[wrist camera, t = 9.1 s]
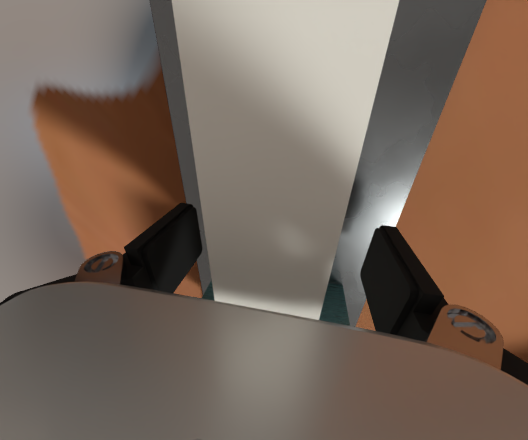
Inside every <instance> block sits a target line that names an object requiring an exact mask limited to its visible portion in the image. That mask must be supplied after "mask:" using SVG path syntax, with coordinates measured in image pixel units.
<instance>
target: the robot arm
mask: <svg viewBox="0 0 528 440" xmlns="http://www.w3.org/2000/svg"><path fill="white" fill-rule="evenodd" d="M124 249H125V251H126V253H125V254H123V255H122V254H121V253H120V252H116V251H109V252H103V253H100V254H97V255H95V256H92V257H91V258H89V259H87V260H86V261H85V262H84V263H82V264H81V266H80V268H79V270H78V273H77V274H76V275H73V276H69V277H66V278H63V279H59V280H56V281H53V282H50V283H47V284H43V285H40V286H37V287H33V288H30V289H27V290H24V291H20V292H17V293H15V294H13V295H11V296H9V297H7V298H6V299H5V300H4V301H3V302H1V303H0V440H528V363H526V362H524V361H523V360H521V359H520V358H518V357H516V356H515V355H513V354H512V353H510V352H508V351H507V350H505V349H504V348H503V346H504V341H503V337H502V335H501V333H500V332H499V330H498V329H497V328H496V327H495V326H494V325H493V324H492V323H491V322H490V321H488V320H487V319H486V318H485V317H483V316H482V315H480V314H478V313H477V312H475V311H473V310H470V309H468V308H466V307H463V306H459V305H451V304H450V305H448V303H447V302H446V300H445V299H444V298H443V297H444V295H443V294H442V292H441V291H440V290H439V288H438V287H437V285H436V284H435V282H434V281H433V279H432V278H431V277H430V275H429V274H428V272H427V271H426V269H425V268H424V266H423V265H422V264H421V262H420V261H419V259H418V258H417V256H416V255H415V253H414V252H413V251H412V249H411V248H410V246H409V245H408V243H407V242H406V240H405V239H404V238H403V236H402V235H401V233H400V232H399V230H398V229H397V228H396V227H394V226H385V225H381V226H380V227H379V228H376V229H375V231H374V234H373V237H372V239H371V242H370V245H369V248H368V251H367V254H366V257H365V260H364V262H363V265H362V268H361V272H360V277H361V281H362V285H363V288H364V292H365V295H366V298H367V302H368V305H369V309H370V312H371V316H372V319H373V323H374V326H375V329H376V331H373V330H368V329H363V328H358V327H353V326H348V325H342V324H337V323H332V322H326V321H321V320H316V319H311V318H305V317H300V316H295V315H289V314H284V313H279V312H273V311H268V310H262V309H257V308H251V307H246V306H241V305H235V304H230V303H224V302H219V301H213V300H208V299H202V298H196V297H191V296H185V295H179V294H174V291H175V290H176V288H177V287H178V286H179V284H180V283H181V281H182V280H183V279H184V277H185V276H186V274H187V273H188V272H189V270H190V269H191V267H192V266H193V265H194V263H195V262H196V260H197V259H198V258H199V256H200V255H201V253H202V242H201V235H200V229H199V223H198V216H197V210H196V208H195V207H193V205H192V204H185V203H180V204H179V205H177V206H176V207H175V208H174V209H172V210H171V211H170V212H168V213H167V214H166V215H165V216H163V217H162V218H161V219H159V220H158V221H157V222H156V223H154V224H153V225H152V226H151V227H149V228H148V229H147V230H145V231H144V232H143V233H142V234H140V235H139V236H138V237H137V238H135V239H134V240H133V241H131V242H130V243H129V244H128V245H126V246H125V247H124Z"/></svg>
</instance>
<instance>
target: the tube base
mask: <svg viewBox="0 0 528 440" xmlns="http://www.w3.org/2000/svg"><path fill="white" fill-rule="evenodd" d="M485 3H486V0H399V4H398V8H397V12H396V16H395V20H394V23H393V27H392V31H391V35H390V39H389V43H388V47H387V51H386V55H385V59H384V63H383V67H382V71H381V75H380V79H379V83H378V87H377V91H376V95H375V99H374V103H373V107H372V111H371V115H370V119H369V123H368V127H367V131H366V135H365V139H364V143H363V147H362V151H361V155H360V159H359V163H358V167H357V171H356V175H355V179H354V183H353V186H352V190H351V194H350V198H349V202H348V206H347V210H346V214H345V218H344V222H343V226H342V230H341V234H340V238H339V242H338V246H337V250H336V254H335V258H334V262H333V266H332V270H331V274H330V278H329V282H328V286H327V290H326V294H325V298H324V302H323V306H322V310H321V314H320V318H319V320H321V321H326V322H332V323H337V324H342V325H348V326H353V327H355V326H356V323H357V321H358V318H359V316H360V313H361V311H362V308H363V306H364V303H365V301H366V295H365V292H364V288H363V285H362V281H361V277H360V272H361V268H362V265H363V262H364V260H365V257H366V254H367V251H368V248H369V245H370V242H371V239H372V237H373V234H374V231H375V229H376V228H379V227H380V226H381V225H385V226H394V227H395V226H396V224H397V221H398V219H399V216H400V214H401V212H402V209H403V207H404V204H405V202H406V199H407V197H408V194H409V192H410V189H411V187H412V184H413V182H414V179H415V177H416V174H417V172H418V169H419V167H420V164H421V162H422V159H423V157H424V154H425V152H426V149H427V147H428V144H429V142H430V140H431V137H432V135H433V132H434V130H435V127H436V125H437V122H438V120H439V117H440V115H441V112H442V110H443V107H444V105H445V102H446V100H447V97H448V95H449V92H450V90H451V87H452V85H453V82H454V80H455V77H456V75H457V72H458V70H459V68H460V65H461V63H462V60H463V58H464V55H465V53H466V50H467V48H468V45H469V43H470V40H471V38H472V35H473V33H474V30H475V28H476V25H477V23H478V20H479V18H480V15H481V13H482V10H483V8H484V5H485ZM150 5H151V11H152V16H153V22H154V27H155V33H156V38H157V44H158V49H159V55H160V60H161V66H162V71H163V77H164V82H165V88H166V93H167V99H168V104H169V110H170V115H171V121H172V126H173V132H174V137H175V143H176V148H177V154H178V159H179V165H180V170H181V176H182V181H183V187H184V192H185V198H186V203H187V204H192V205H193V207H195V208H196V210H197V216H198V223H199V229H200V235H201V242H202V253H201V255H200V256H199V258H198V259H197V264H198V270H199V275H200V281H201V286H202V292H203V296H202V299H208V300H213V301H215V300H214V293H213V286H212V279H211V272H210V265H209V258H208V251H207V244H206V237H205V230H204V223H203V216H202V209H201V202H200V195H199V188H198V181H197V174H196V167H195V160H194V153H193V146H192V139H191V132H190V125H189V118H188V111H187V104H186V97H185V90H184V83H183V76H182V69H181V62H180V55H179V48H178V41H177V34H176V27H175V20H174V13H173V6H172V0H150Z"/></svg>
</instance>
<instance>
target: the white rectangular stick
mask: <svg viewBox="0 0 528 440" xmlns="http://www.w3.org/2000/svg"><path fill="white" fill-rule="evenodd" d="M398 4H399V0H172V6H173V13H174V20H175V27H176V34H177V41H178V48H179V55H180V62H181V69H182V76H183V83H184V90H185V97H186V104H187V111H188V118H189V125H190V132H191V139H192V146H193V153H194V160H195V167H196V174H197V181H198V188H199V195H200V202H201V209H202V216H203V223H204V230H205V237H206V244H207V251H208V258H209V265H210V272H211V279H212V286H213V293H214V300H215V301H219V302H224V303H230V304H235V305H241V306H246V307H251V308H257V309H262V310H268V311H273V312H279V313H284V314H289V315H295V316H300V317H305V318H311V319H316V320H319V318H320V314H321V310H322V306H323V302H324V298H325V294H326V290H327V286H328V282H329V278H330V274H331V270H332V266H333V262H334V258H335V254H336V250H337V246H338V242H339V238H340V234H341V230H342V226H343V222H344V218H345V214H346V210H347V206H348V202H349V198H350V194H351V190H352V186H353V183H354V179H355V175H356V171H357V167H358V163H359V159H360V155H361V151H362V147H363V143H364V139H365V135H366V131H367V127H368V123H369V119H370V115H371V111H372V107H373V103H374V99H375V95H376V91H377V87H378V83H379V79H380V75H381V71H382V67H383V63H384V59H385V55H386V51H387V47H388V43H389V39H390V35H391V31H392V27H393V23H394V20H395V16H396V12H397V8H398Z"/></svg>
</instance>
